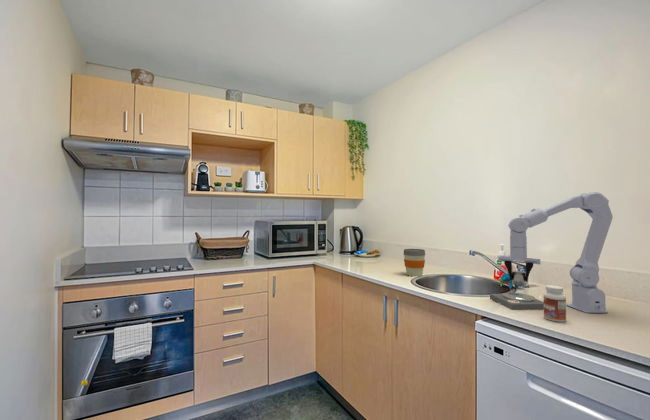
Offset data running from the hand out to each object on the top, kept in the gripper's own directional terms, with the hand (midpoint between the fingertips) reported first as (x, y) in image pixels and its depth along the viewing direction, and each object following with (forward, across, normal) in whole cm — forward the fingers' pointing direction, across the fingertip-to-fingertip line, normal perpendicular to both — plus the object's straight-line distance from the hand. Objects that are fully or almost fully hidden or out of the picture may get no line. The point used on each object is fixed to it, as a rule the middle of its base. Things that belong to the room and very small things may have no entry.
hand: (518, 280), depth 123 cm
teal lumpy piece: (+9, +4, -28) cm, 30 cm away
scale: (+9, 0, +2) cm, 9 cm away
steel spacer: (+2, 0, 0) cm, 2 cm away
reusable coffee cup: (+9, +53, -32) cm, 62 cm away
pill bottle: (+9, -10, +17) cm, 22 cm away
